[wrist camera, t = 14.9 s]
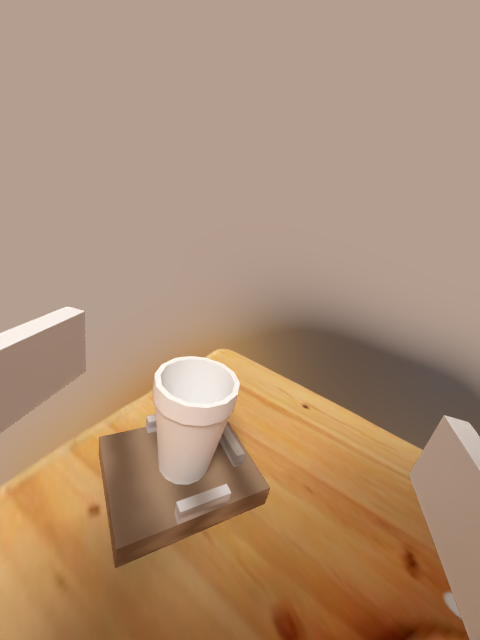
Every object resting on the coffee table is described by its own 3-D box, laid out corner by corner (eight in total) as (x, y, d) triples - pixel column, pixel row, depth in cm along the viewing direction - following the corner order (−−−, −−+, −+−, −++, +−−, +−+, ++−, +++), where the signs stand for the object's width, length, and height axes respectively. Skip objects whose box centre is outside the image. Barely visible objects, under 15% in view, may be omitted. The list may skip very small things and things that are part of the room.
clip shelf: (217, 425, 49) (223, 401, 47) (264, 503, 38) (273, 476, 36) (98, 453, 40) (99, 425, 38) (115, 568, 29) (117, 536, 27)
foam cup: (128, 474, 35) (135, 384, 30) (171, 425, 43) (182, 348, 38) (200, 511, 33) (220, 420, 28) (230, 452, 41) (250, 374, 36)
